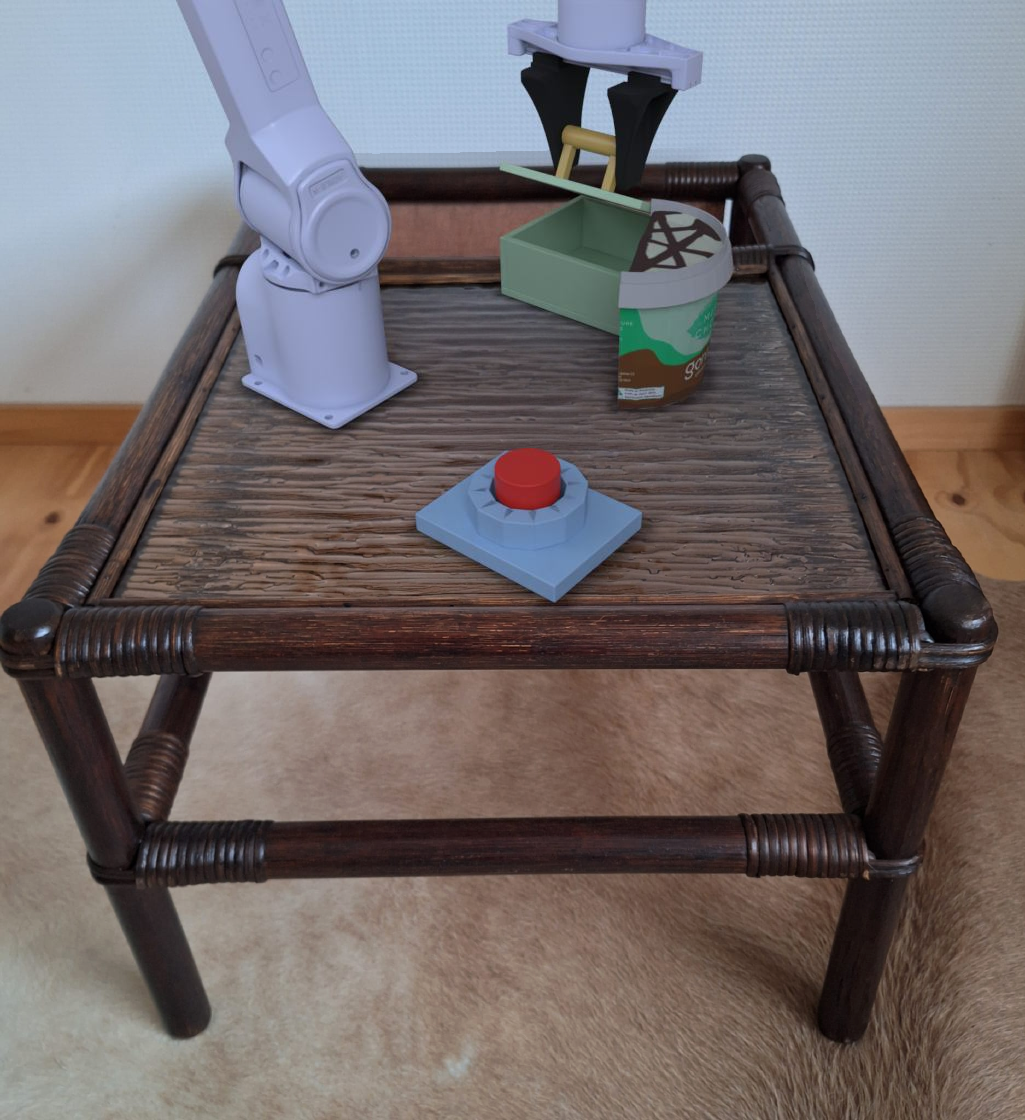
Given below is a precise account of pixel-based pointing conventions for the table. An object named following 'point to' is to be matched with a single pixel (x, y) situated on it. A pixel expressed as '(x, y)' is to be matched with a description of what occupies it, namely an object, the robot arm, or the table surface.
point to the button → (527, 479)
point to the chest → (573, 260)
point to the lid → (572, 141)
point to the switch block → (531, 530)
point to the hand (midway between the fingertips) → (597, 176)
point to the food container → (670, 305)
